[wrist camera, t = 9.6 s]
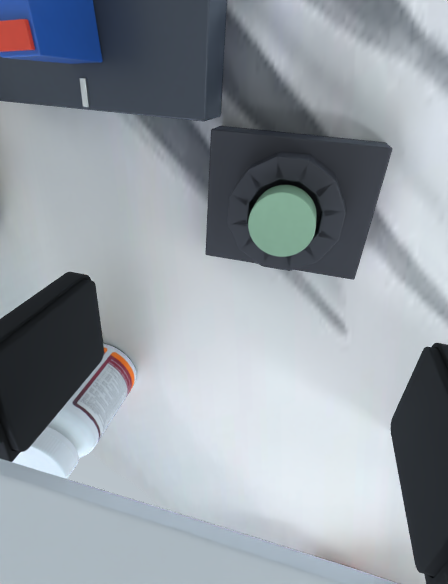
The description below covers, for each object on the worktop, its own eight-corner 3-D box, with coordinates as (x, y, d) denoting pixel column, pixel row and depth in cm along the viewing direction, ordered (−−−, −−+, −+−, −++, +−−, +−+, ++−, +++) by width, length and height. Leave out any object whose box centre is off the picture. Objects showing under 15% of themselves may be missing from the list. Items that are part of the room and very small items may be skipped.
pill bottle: (77, 371, 38) (-6, 467, 28) (88, 330, 34) (-3, 425, 25) (130, 397, 38) (64, 502, 28) (145, 359, 34) (77, 465, 25)
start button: (322, 188, 19) (322, 197, 18) (309, 249, 21) (308, 261, 20) (257, 180, 20) (251, 187, 18) (250, 240, 22) (245, 251, 20)
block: (386, 142, 21) (398, 153, 17) (352, 265, 25) (356, 293, 21) (220, 125, 22) (201, 132, 19) (213, 243, 27) (197, 266, 23)
